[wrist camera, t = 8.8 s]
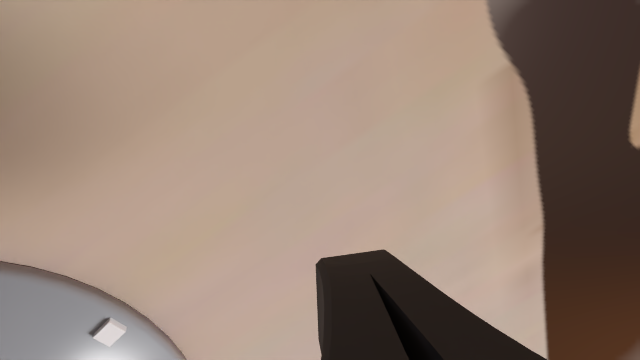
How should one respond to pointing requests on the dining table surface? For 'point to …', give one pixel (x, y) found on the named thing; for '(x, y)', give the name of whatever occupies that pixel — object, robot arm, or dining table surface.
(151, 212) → the dining table surface
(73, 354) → the dial base
